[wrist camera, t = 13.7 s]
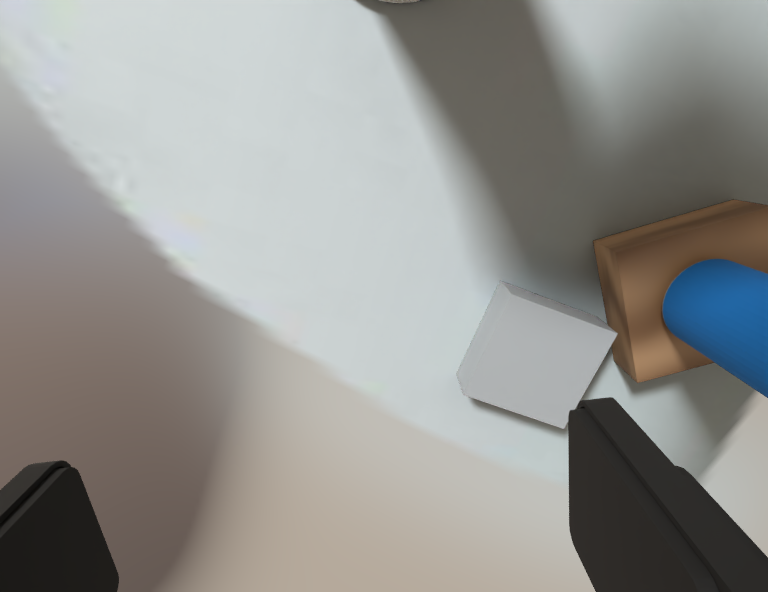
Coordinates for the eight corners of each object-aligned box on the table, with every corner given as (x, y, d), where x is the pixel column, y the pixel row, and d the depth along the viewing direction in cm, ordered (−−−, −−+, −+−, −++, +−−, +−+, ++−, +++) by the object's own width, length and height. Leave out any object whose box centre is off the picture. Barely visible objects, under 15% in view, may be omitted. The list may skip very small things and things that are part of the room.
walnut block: (593, 240, 39) (616, 251, 35) (733, 199, 38) (773, 206, 34) (613, 360, 42) (637, 383, 38) (743, 325, 41) (781, 344, 37)
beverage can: (763, 281, 36) (945, 349, 24) (705, 352, 37) (849, 447, 26) (694, 240, 35) (850, 290, 23) (638, 315, 36) (757, 396, 25)
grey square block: (499, 279, 40) (511, 294, 36) (595, 315, 41) (617, 333, 37) (455, 371, 42) (463, 394, 39) (547, 403, 43) (563, 429, 40)
